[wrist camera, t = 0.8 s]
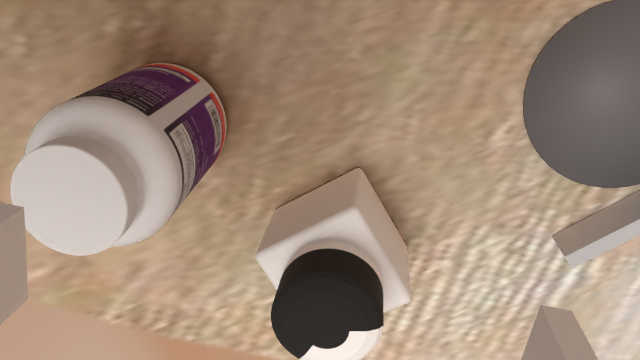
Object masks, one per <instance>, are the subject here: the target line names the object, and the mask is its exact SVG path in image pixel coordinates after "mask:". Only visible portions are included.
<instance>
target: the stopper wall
mask: <svg viewBox="0 0 640 360" xmlns="http://www.w3.org/2000/svg"><path fill="white" fill-rule="evenodd" d="M639 235H640V190H639V191H637V192H635V193H633V194H631V195H630V196H628V197H626V198H624V199H622V200H620V201H618V202H616V203H614V204H612V205H610V206H608V207H606V208H604V209H603V210H601V211H599V212H597V213H595V214H593V215H591V216H589V217H587V218H585V219H583V220H581V221H579V222H577V223H575V224H574V225H572V226H570V227H568V228H566V229H564V230H562V231H560V232H558V233H556V234H554V235H552V237H553V238H554V240H555V242H556V243H557V245H558V247H559V248H560V250H561V251H562V253H563V255H564V256H565V258H566V260H567V261H568V263H569V264H570V266H571V268H574V267H576V266H578V265H580V264H582V263H584V262H586V261H588V260H590V259H592V258H594V257H596V256H598V255H600V254H602V253H604V252H606V251H608V250H610V249H612V248H614V247H616V246H618V245H620V244H622V243H624V242H626V241H628V240H631V239H633V238H635V237H637V236H639Z"/></svg>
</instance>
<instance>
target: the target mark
mask: <svg viewBox="0 0 640 360" xmlns="http://www.w3.org/2000/svg"><path fill="white" fill-rule="evenodd" d="M523 114H524V121H525V127H526V130H527V133H528V136H529V138H530V140H531V142H532V144H533V146H534V148H535V150H536V151H537V152H538V154H539V155H540V157H541V158H542V159H543V160H544V161H545V162H546V163H547V164H548V165H549V166H550V167H551V168H553V169H554V170H555V171H556V172H558V173H559V174H561V175H563V176H565V177H566V178H568V179H570V180H573V181H575V182H578V183H581V184H585V185H589V186H594V187H602V188H618V187H628V186H633V185H637V184H640V0H613V1H610V2H606V3H603V4H601V5H598V6H596V7H593V8H591V9H589V10H587V11H585V12H583V13H582V14H580V15H578V16H577V17H575V18H574V19H572V20H571V21H570V22H568V23H567V24H566V25H564V26H563V27H562V28H561V29H560V30H559V31H558V32H557V33H555V35H554V36H553V37H552V38H551V39H550V40H549V41H548V43H547V44H546V45H545V46H544V48H543V49H542V51H541V52H540V54H539V55H538V57H537V59H536V61H535V62H534V64H533V66H532V68H531V71H530V74H529V76H528V79H527V83H526V87H525V91H524V100H523Z"/></svg>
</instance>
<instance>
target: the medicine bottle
mask: <svg viewBox="0 0 640 360" xmlns="http://www.w3.org/2000/svg"><path fill="white" fill-rule="evenodd" d="M256 260H257V262H258V263H259V265H260V266H261V268H262V269H263V271H264V272H265V274H266V275H267V277H268V278H269V280H270V281H271V283H272V284H273V285H274V287H275V288H276V290H277V292H276V295H275V299H274V302H273V305H272V310H271V322H272V327H273V330H274V333H275V335H276V337H277V339H278V340H279V341H280V343H281V344H282V345H283V346H284V347H285V349H286V350H288V351H289V352H290V353H291V354H293V355H294V356H296V357H297V358H299V359H301V360H360V359H362V358H363V357H365V356H366V355H368V354H369V353H370V352H371V351H372V350H373V349H374V347H375V346H376V345H377V343H378V341H379V339H380V337H381V334H382V331H383V313H386V312H388V311H390V310H393V309H395V308H398V307H400V306H402V305H405V304H407V303H409V302H410V300H411V288H410V276H409V265H408V253H407V246H406V244H405V242H404V241H403V239H402V237H401V235H400V234H399V232H398V230H397V228H396V227H395V225H394V223H393V222H392V220H391V218H390V216H389V215H388V213H387V211H386V210H385V208H384V206H383V204H382V203H381V201H380V199H379V198H378V196H377V194H376V192H375V191H374V189H373V187H372V185H371V184H370V182H369V180H368V179H367V177H366V175H365V173H364V172H363V170H362V169H360V168H356V169H354V170H352V171H350V172H348V173H346V174H344V175H342V176H340V177H338V178H336V179H334V180H332V181H330V182H328V183H326V184H324V185H322V186H320V187H318V188H316V189H314V190H313V191H311V192H309V193H307V194H305V195H303V196H301V197H299V198H297V199H295V200H293V201H291V202H289V203H287V204H285V205H283V206H281V207H279V208H277V209H276V210H275V211H274V213H273V216H272V218H271V220H270V223H269V225H268V227H267V230H266V232H265V234H264V237H263V239H262V241H261V244H260V246H259V249H258V251H257V253H256Z"/></svg>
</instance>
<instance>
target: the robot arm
mask: <svg viewBox="0 0 640 360" xmlns="http://www.w3.org/2000/svg"><path fill="white" fill-rule="evenodd" d="M27 299H28V287H27V263H26V239H25V215H24V207H21V206H16V205H10V204H5V203H0V325H1V324H2V323H3V322H4V321H5V320H6V319H7V318H8V317H9V316H10V315H11V314H12V313H13V312H14V311H15V310H16V309H17V308H18V307H19V306H21V305H22V304H23V303H24V302H25V301H26V300H27ZM521 360H598V359H597V357H596V355H595V353H594V351H593V349H592V348H591V346H590V344H589V342H588V340H587V338H586V336H585V335H584V333H583V331H582V329H581V327H580V325H579V323H578V321H577V320H576V318H575V316H574V314H573V312H572V311H569V310H564V309H558V308H553V307H548V306H542V305H541V306H540V308H539V311H538V314H537V317H536V320H535V322H534V325H533V328H532V331H531V334H530V336H529V339H528V342H527V345H526V348H525V350H524V353H523V356H522V359H521Z"/></svg>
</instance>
